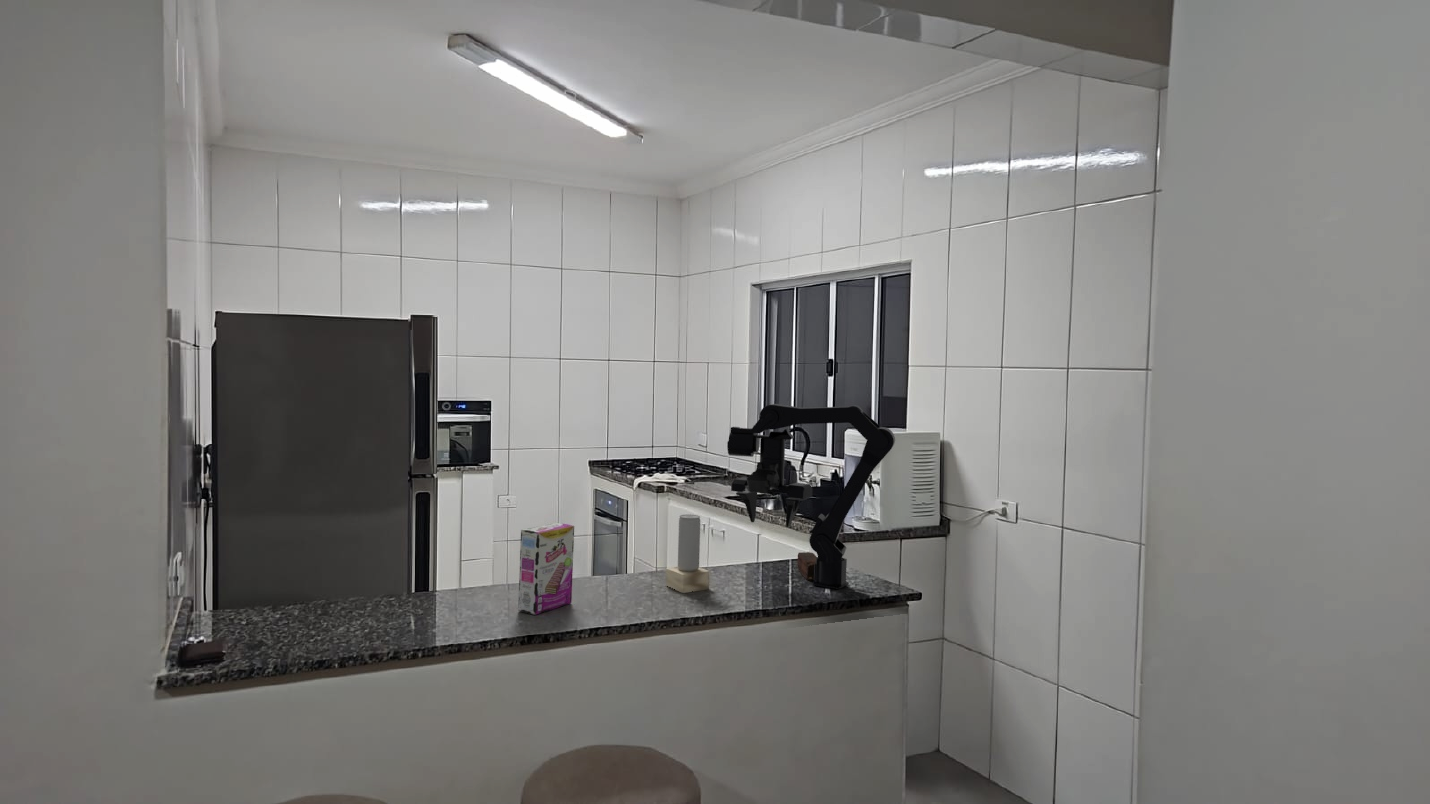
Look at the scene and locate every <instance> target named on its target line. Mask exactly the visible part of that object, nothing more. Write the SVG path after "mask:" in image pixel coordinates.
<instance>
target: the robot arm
mask: <svg viewBox="0 0 1430 804" xmlns="http://www.w3.org/2000/svg"><path fill="white" fill-rule="evenodd" d="M758 416H759V417H758V418H759V419H758V421H756V423H755V424H754V425H753V427H752V428H749V427H747V428H746V427H739V426H731V427H730V432H729V436H728V440H727V442H726V444H727V446H726V447H727V448H726V449H727V454H728V456H730V457H750V458H751V457H752V458H753V457H754V456H755V453H760V454H759V461H758V462H757V464H756V467H755V471H752V472H751V473H750V474H749V476H747V477H739V478H734V479H733V480H732V482H731V483H730V491H731V492H735V495H736V496H739V497H740V498H741V499H742V500H743V503H744V504H745V507H746V512H747V514H748V517H749V521H750V522H751V523H755V522H756V521H755V520H756V515H757V502H758V493H759V494H767V493H769V492H771V493H773V492H774V493H781V494H786V495H787V496H788V497H787V498H785V502H786V505H787V506H786V516H785V524H786V525H785V526H786V528H789V527H790V526H791V525H792V522H793V520H794V517H795V516H796V514H797V511H798V510H799V507H800V506H801V504H802V503H803V501H805V500H807V499H808V498H810V497H813V487H812V486H811V484H810V483H803V482H795V483H790V484H788V485H787V479H785V467H787V465H788V464H787V463H788V462H787V461H785V458H786V457H785V455H786V454H785V453H786V452H785V451H786V441H788V440H790V441H791V440H792V439H794V438H795V437H794V435H793V434H792V433H791V432H790V430H789V429H788V428H787V427H791V426H796V425H806V424H807V425H808V424H809V425H813V424H815V425H816V424H850V425H852V426H853V427H854V429H855V430H856V431H857V432H858V433H859V434H860V435H861V436H862V437H863V438H864V439H865V440H866V442H865V444H864V448H863V451H862V453H861V454H862V455H861V457H860V460H859V462H858V463H857V465H856V467H855V469H854V471H853V472H852V474H851V476H850V478H849V479H848V481H847V483H846V485H845V486H844V488H843V489H842V491H841V492H840V495H839V496H838V498H837V500H836V502H834V505H833V506H832V508H831V510H830V511H829V513H828V514H827V515H826V516H825V515H824V514H823V513H820V514H819V515H818V517H817V519H816V520H815V524H814V525H813V526H812V528H811V529H810V530H809V532H808V533H809V534H810V536H809V538H808V539H809V540H808V542H809V545H810V548H811V550H813V551H814V552H815V553H816V557H817V560H816V563H815V564H814V580H813V583H812V586H817V587H821V588H829V589H835V590H840V589H842V588H844V587H846V586H848V585H849V581H847V560H848V559H847V558H844V555H845V552H846V550H847V547H846V545H845V544H844V542H842V541H841V540H840V539H839V536H840V533H841V530H842V527H843V525H844V522H845V519H846V517H847V515H848V514H849V512H850V510H851V508H852V507H853V505H854V503H855V502H856V500H857V499H858V497H859V495H860V493H861V492H862V490H863V488H864V486H865V485H866V483H867V482H868V479H869V478H870V476H871V475H872V473H873V471H874V469H876V468H877V466H878V465H879V464H880V463H881V462H882V460H884V458H885V457H886V456H887V454H889V452H890V451H891V450H892V448H893V447H894V445H895V443H896V437H895V434H894V432H893V431H892V430H891V429H890V428H888V427H886V426H885V427H884V426H880V425H879V423H877V421H875V420H874V419H872V417H870V416H869V415H868V414H867V413H865V411H864V410H863V409H862V407H860V406H858V405H855V404H854V405H850V406H828V407H827V406H826V407H825V406H824V407H823V406H822V407H821V406H820V407H799V406H793V405H787V404H781V403H773V404H768V405H765V406H764V407H762V409H761V411H760V412H759V415H758ZM784 428H785V429H784ZM777 429H784V430H783V431H769V434H767V435H766V434H761V433H764V432H767V431H768V430H777ZM759 451H760V452H759Z"/></svg>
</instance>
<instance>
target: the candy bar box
mask: <svg viewBox="0 0 1430 804" xmlns="http://www.w3.org/2000/svg"><path fill="white" fill-rule="evenodd" d="M574 541H575V525H571V524H565V523H559V522H556V523H550V524H545V525H541V526H536V527H529V528H524V529H520V548H519V549H520V551H519V553H520V554H519V575H518V576H519V577H518V579H519V581H518V582H519V583H518V605H517V606H518V609H517V610H518V611H519V612H521V613H525V614H528V615H529V614H530V615H532V616H533V615H534V616H536V615H539V614H541V613H545V612H548V611H551V610H555V609H557V608H561V607H564V606H567V605H569V604H572V600H573V596H572V595H573V573H574V572H573V571H574V570H573V569H574V568H573V565H574V564H573V563H574V545H575V543H574Z"/></svg>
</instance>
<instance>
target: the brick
mask: <svg viewBox="0 0 1430 804" xmlns="http://www.w3.org/2000/svg"><path fill="white" fill-rule="evenodd" d="M797 553H798V554H797V562H796V563H797V565H796V566H797V568H798V572H799V573H800V574H801V575H802V577H803V578H804V579H806V580H807V581H814V564H815V563H816V560H817V557H818V556H817V555H816V554H815V553H814V552H811V551H810V552H807V551H806V552H797Z"/></svg>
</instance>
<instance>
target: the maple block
mask: <svg viewBox="0 0 1430 804" xmlns="http://www.w3.org/2000/svg"><path fill="white" fill-rule="evenodd" d="M667 586H669V587H671V588H670V589H672V588H673V589H672V590H674V589H675V590H674V591H676V592H680V593H682V594H685V593H691V592H692V591H693V592H698V591H704V590H709V589H710V570H707V569H704V568H702V567H699V568H698V570H696V571H692V572H687V571H681V570H679V568H678V566H675V567H673V566H672V567H667V568H665V587H667ZM669 587H668V588H669Z"/></svg>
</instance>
